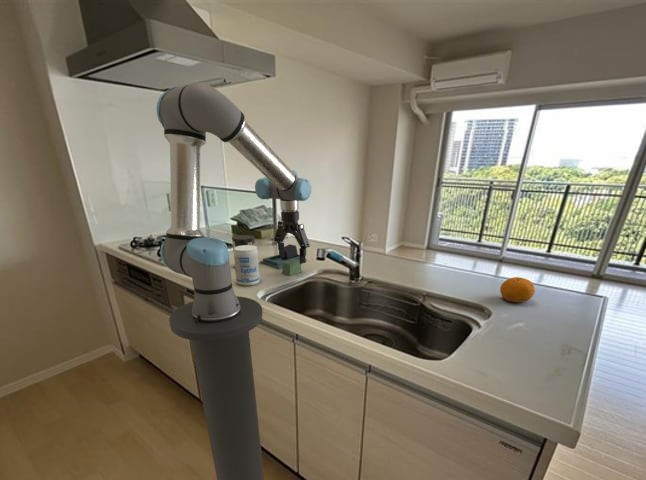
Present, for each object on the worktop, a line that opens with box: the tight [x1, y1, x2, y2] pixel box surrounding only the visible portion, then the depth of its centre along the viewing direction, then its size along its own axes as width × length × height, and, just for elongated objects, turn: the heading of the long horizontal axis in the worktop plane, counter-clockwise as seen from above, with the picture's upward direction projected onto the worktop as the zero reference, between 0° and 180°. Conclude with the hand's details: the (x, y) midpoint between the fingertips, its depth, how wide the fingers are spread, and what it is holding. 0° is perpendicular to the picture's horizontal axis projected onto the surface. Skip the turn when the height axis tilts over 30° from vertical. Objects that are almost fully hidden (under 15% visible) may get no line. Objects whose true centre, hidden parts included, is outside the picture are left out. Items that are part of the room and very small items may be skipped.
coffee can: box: [231, 234, 256, 252], centre depth 158 cm, size 10×10×14 cm
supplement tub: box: [233, 245, 261, 287], centre depth 137 cm, size 10×10×15 cm
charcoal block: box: [281, 243, 299, 260], centre depth 168 cm, size 7×5×5 cm
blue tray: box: [259, 254, 300, 270], centre depth 167 cm, size 18×14×2 cm
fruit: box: [499, 276, 536, 303], centre depth 118 cm, size 10×10×8 cm
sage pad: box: [281, 259, 302, 276], centre depth 151 cm, size 7×5×5 cm
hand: (292, 260), depth 150 cm, fingers open, 13 cm apart
